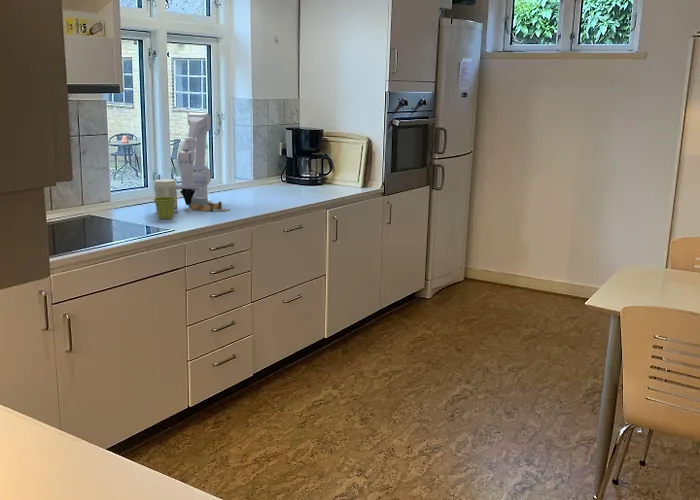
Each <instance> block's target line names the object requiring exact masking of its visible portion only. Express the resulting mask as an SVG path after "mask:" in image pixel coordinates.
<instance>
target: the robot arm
mask: <svg viewBox="0 0 700 500" xmlns="http://www.w3.org/2000/svg"><path fill="white" fill-rule="evenodd" d="M187 123H188V127H189V128H188V133H187V134H188V135H187V137H185V139H184V141H183V145H182V149H181V151H179V152H178V154H177V155H178V157H177V160H178V163H179V164H178V165H179V168H180V184H176V190H180V193H181V195H182V197H183V200H184V203H185V205H186V206H189V204H192V201H191V198H194V197H205V198H208V196H209V195H208V185H209V184H210V182H211V169H210V168H209V167H207V166H206V164H205V163H206V153H207V152H206V148H207V133H208V132H209V131H210V129H211V116H210V114H209V113H208V112H189V113H188V115H187ZM208 203H212V200H209V198H208Z"/></svg>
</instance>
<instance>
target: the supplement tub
mask: <svg viewBox="0 0 700 500" xmlns="http://www.w3.org/2000/svg"><path fill="white" fill-rule="evenodd" d="M176 185H177V182H176V179H172V178H163V179H156V180H154V195H155V196H154V198H159V197H174V198H176V199H175V202H174V209H173V214H174V213H176V212H178V197H177V196H178V194H177V189H176ZM155 209H156V212H157V208H156V207H155Z"/></svg>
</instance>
